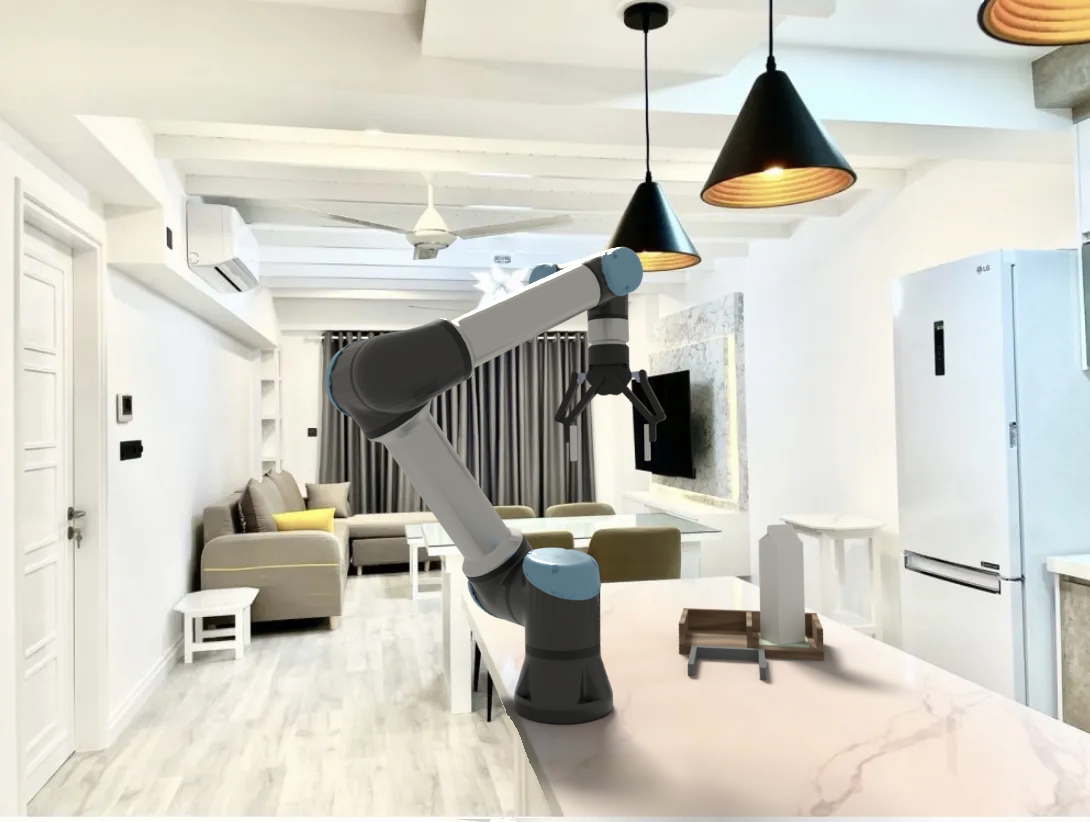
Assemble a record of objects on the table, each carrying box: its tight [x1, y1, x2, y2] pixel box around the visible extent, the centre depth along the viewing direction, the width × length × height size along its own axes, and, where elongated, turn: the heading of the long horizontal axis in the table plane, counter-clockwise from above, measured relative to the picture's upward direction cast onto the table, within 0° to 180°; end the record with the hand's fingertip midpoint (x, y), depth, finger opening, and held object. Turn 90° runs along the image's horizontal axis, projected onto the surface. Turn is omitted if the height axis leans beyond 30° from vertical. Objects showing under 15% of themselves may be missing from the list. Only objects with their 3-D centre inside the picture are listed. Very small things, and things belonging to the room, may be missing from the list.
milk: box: [758, 523, 806, 645], centre depth 154 cm, size 6×6×22 cm
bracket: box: [687, 645, 767, 681], centre depth 142 cm, size 12×13×2 cm
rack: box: [678, 607, 825, 662], centre depth 155 cm, size 14×26×6 cm, turn 76°
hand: (610, 460), depth 146 cm, fingers open, 13 cm apart
